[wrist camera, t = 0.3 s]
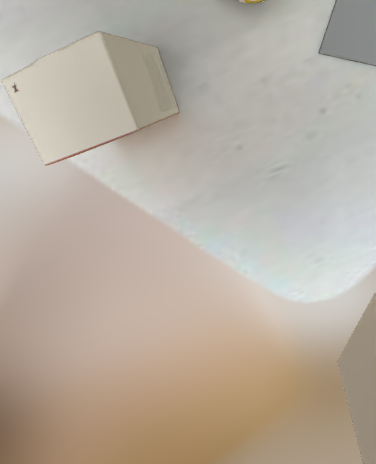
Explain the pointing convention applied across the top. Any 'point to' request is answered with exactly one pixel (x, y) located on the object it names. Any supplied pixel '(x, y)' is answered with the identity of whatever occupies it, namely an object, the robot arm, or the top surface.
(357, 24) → the rest mat
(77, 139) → the small box
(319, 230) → the top surface
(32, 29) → the top surface
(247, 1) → the supplement bottle
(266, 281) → the top surface
